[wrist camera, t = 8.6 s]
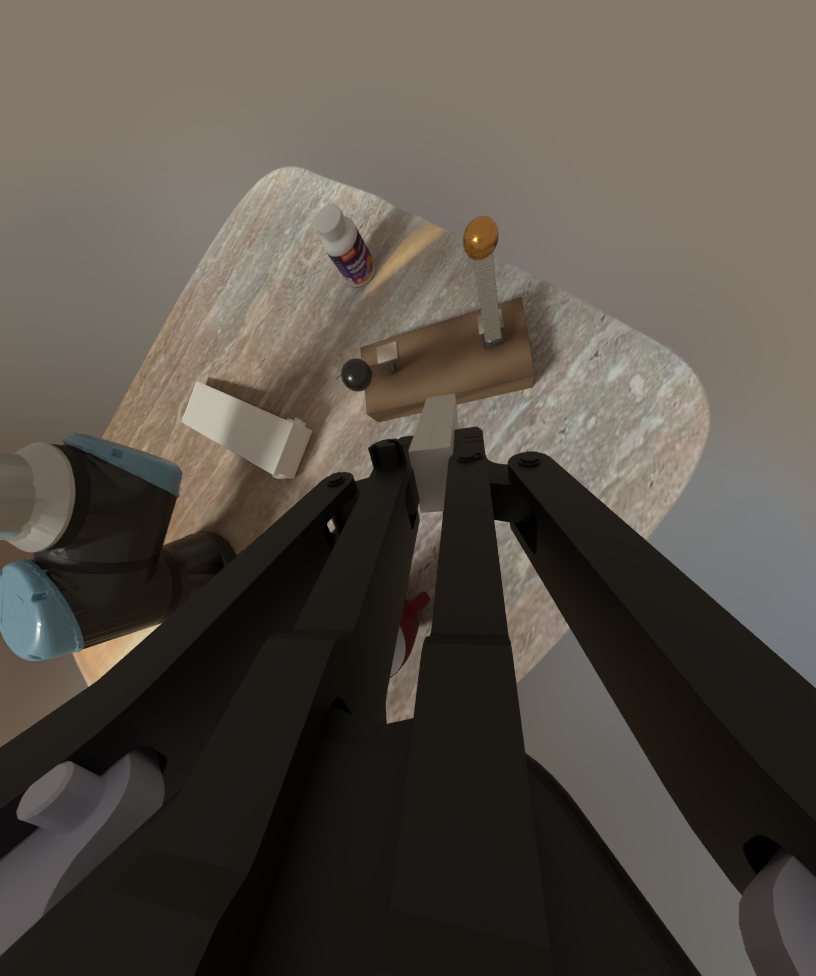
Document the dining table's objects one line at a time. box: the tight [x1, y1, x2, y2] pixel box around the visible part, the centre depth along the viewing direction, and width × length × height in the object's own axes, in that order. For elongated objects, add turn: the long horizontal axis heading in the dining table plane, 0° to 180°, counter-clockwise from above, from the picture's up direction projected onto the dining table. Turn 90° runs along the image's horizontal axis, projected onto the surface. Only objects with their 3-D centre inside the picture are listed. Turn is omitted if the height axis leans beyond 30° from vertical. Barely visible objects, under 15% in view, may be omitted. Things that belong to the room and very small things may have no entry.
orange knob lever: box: [463, 216, 504, 349], centre depth 32 cm, size 3×3×13 cm
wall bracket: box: [182, 381, 313, 479], centre depth 54 cm, size 10×7×28 cm
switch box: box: [360, 297, 534, 422], centre depth 42 cm, size 10×22×4 cm, turn 97°
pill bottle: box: [315, 204, 375, 287], centre depth 45 cm, size 5×5×10 cm
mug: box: [390, 592, 430, 678], centre depth 39 cm, size 10×8×10 cm
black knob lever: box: [341, 359, 397, 391], centre depth 36 cm, size 3×3×13 cm
